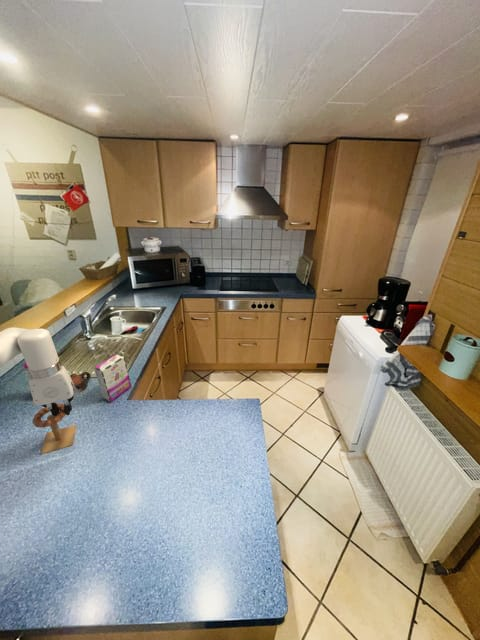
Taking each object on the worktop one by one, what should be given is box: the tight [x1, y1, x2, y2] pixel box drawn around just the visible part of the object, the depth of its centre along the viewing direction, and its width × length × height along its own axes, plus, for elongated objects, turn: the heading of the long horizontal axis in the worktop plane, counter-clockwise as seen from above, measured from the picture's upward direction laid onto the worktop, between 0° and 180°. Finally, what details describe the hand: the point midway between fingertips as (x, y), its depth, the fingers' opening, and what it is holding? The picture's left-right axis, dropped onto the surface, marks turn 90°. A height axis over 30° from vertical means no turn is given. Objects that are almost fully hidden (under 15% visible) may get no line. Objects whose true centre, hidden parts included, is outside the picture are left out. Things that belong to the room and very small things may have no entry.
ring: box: [32, 403, 67, 429], centre depth 82 cm, size 9×9×2 cm
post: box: [39, 414, 77, 456], centre depth 84 cm, size 9×9×12 cm
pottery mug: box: [69, 371, 92, 393], centre depth 111 cm, size 12×10×8 cm
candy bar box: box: [93, 354, 132, 403], centre depth 106 cm, size 11×5×16 cm, turn 154°
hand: (63, 413), depth 83 cm, fingers closed
